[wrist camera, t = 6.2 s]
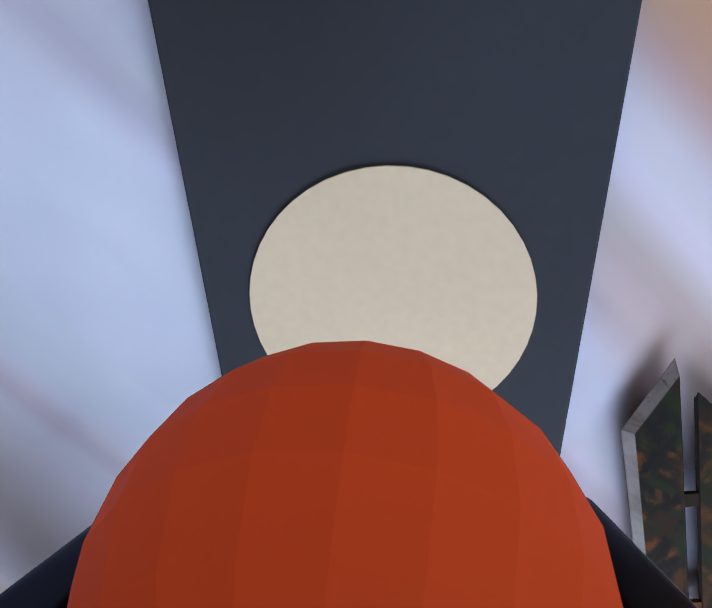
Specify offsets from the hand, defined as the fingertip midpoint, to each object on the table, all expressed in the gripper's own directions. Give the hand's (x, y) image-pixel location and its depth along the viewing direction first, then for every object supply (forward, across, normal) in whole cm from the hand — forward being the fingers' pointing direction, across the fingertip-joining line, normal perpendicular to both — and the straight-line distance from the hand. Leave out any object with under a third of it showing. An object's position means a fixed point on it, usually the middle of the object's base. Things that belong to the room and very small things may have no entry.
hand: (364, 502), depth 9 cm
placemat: (+8, 0, 0) cm, 8 cm away
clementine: (+2, 0, 0) cm, 2 cm away
